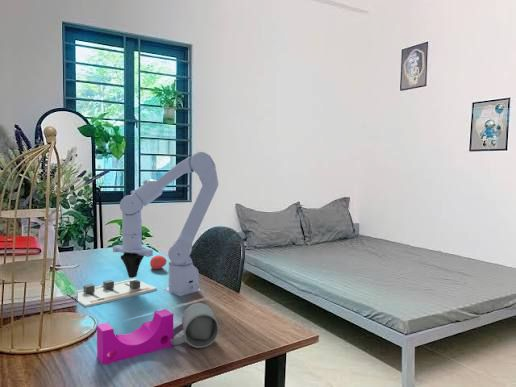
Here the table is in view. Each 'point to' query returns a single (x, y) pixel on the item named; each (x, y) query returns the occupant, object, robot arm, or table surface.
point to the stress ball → (158, 262)
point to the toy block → (135, 339)
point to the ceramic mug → (197, 327)
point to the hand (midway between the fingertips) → (132, 276)
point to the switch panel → (112, 293)
